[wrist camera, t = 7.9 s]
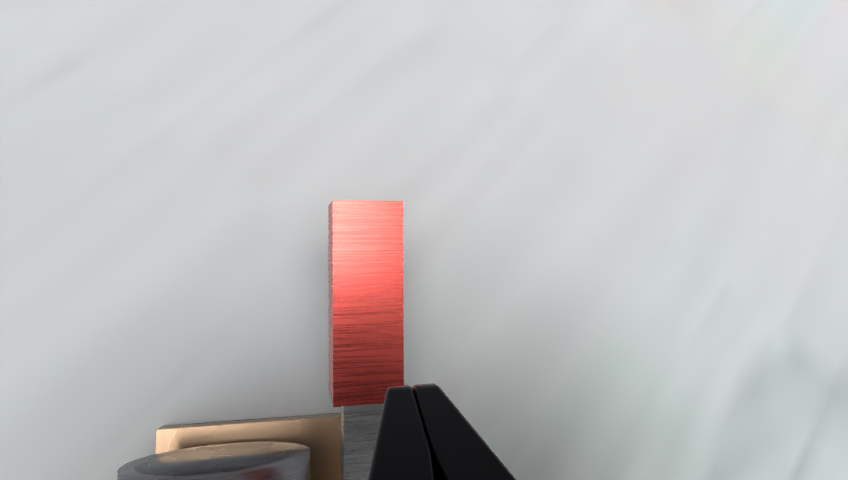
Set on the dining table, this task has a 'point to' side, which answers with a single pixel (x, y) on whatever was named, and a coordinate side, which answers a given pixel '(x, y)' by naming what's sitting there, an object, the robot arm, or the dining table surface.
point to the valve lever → (364, 321)
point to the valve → (244, 451)
